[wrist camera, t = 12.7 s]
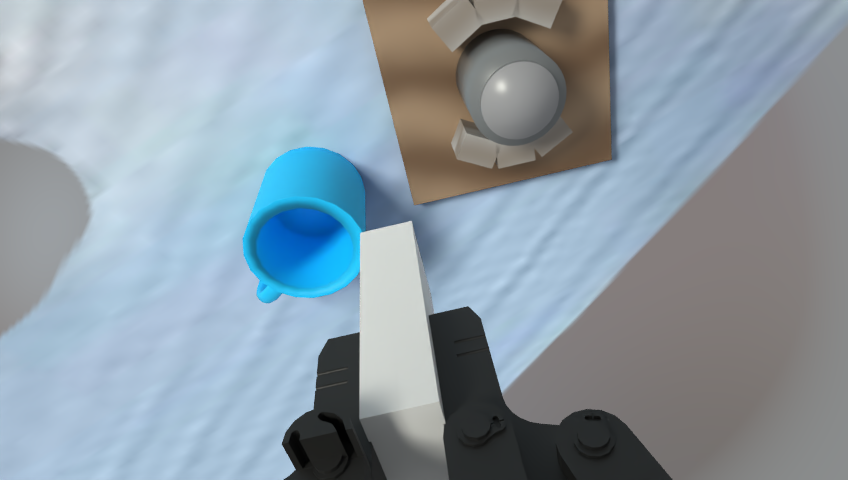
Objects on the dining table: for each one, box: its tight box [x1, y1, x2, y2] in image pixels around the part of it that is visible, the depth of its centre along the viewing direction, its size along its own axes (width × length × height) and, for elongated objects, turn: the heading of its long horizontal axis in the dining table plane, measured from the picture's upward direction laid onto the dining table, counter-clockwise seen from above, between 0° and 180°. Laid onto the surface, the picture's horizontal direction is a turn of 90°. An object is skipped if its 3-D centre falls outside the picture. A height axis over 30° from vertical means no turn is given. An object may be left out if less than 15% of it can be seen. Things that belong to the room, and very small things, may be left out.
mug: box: [243, 147, 366, 303], centre depth 41 cm, size 12×8×8 cm
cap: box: [456, 29, 566, 146], centre depth 36 cm, size 6×6×6 cm
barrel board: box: [363, 0, 612, 205], centre depth 38 cm, size 18×16×4 cm
